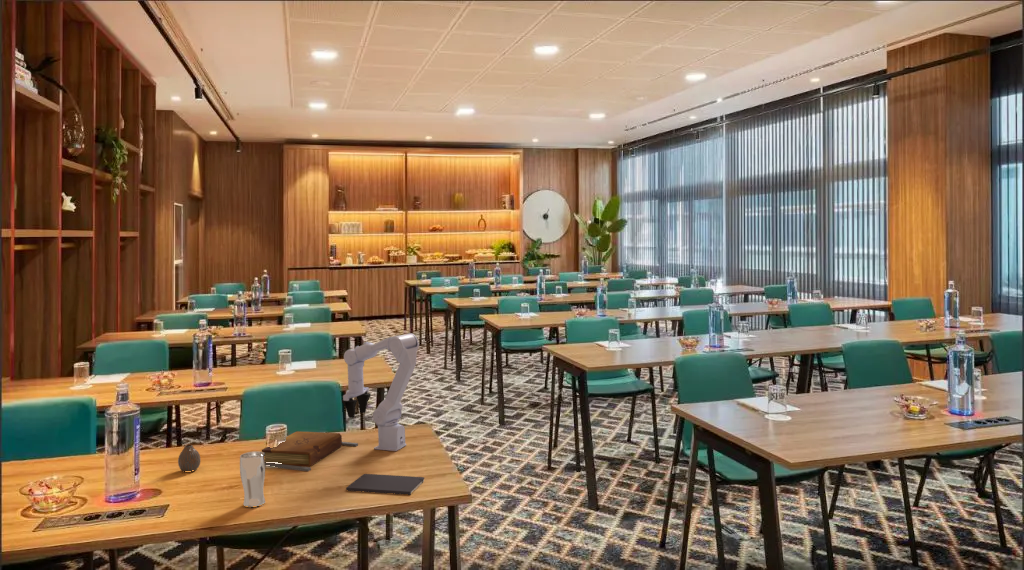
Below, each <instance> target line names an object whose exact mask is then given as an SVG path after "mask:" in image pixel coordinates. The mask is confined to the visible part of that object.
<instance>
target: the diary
mask: <svg viewBox="0 0 1024 570" xmlns="http://www.w3.org/2000/svg"><path fill="white" fill-rule="evenodd" d="M285 437H286V441H285V442H282V443H280V444H279V445H278V446H277V447H273V448H270V447H268V446H267V447H265V448H262V449H261V452H263V453H265V456H264V461H265V462H278V463H282V464H284V465H293V466H302V467H310V468H311V467H312V466H314V465H315V464H316V463H318V462H320V461H322V459H325V457H328V456H329V455H330V454H332V453H334V452H335V451H337V450H338V449H340V448H341V447H342V446H343V445H342V442H343V438H342V435H341V433H339V432H320V431H318V432H317V431H295V432H293V433H291V434H289V435H287V436H285Z"/></svg>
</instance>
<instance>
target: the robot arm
mask: <svg viewBox="0 0 1024 570" xmlns="http://www.w3.org/2000/svg"><path fill="white" fill-rule="evenodd" d="M354 347H355V348H352V349H350V348H349V349H347V350H345V352H344V354H343V360H344V362H345V363H346V364H347V381H348V382H347V383H348V384H347V386H348V390H346V393H345V394H343V395H342V398H343V399H341V402H342V404H343V406H344V408H345V411H346V412H347V416H348V418H349V419H350V418H351V419H354V418H355V415H356V414H355V413H356V404H357V403H358V411H359V413H360V414H361V413H362V414H365V413H366V411H367V407H368V406H367V405H368V403H369V399H370V398H371V396H372V395H371V393H370V387H367V386H366V387H365V385H364V383H365V382H364V366H365V361H367V360H371V359H372V358H375V357H376V356H377V355H378V352H381V351H384V350H386V349H387V350H388V351H390V353H391V354H392V356H393V357H394V358H395V360H396V361H397V362H398V363H399V364H398V367H397V369H396V373H395V375H394V377H393V379H392V381H391V384H390V387H389V389H388V391H387V394H386V396H385V398H384V399H383V400H382V401H381V402H380V403H379V404H378V406H377V408H375V409H374V411H373V412H372V419H373V422H374V423H375V424H376V426H377V435H378V437H377V439H378V445H376V446H374V447H373V449H374V450H381V451H390V452H391V451H392V452H397V451H399V450H401V449H402V448H404V447H406V446H407V443H406V429H405V426H404V424H400V423H399V420H400V419H401V417H402V413H403V412H402V409H403V407H404V405H403V404H402V402H401V401H402V398H403V396H404V393H405V391H406V390H407V389H406V388H407V386H408V385H409V381H410V379H411V377H412V375H413V373H414V370H415V369H416V368H415V367H416V366H417V365H416V364H417V359H418V358H417V357H418V356H417V355H418V354H417V352H418V349H419V347H420V343H419V339H418V338H417V336H416V335H415V334H414V333H411V332H410V333H406V334H399V335H394V336H390V337H386V338H384V339H382V340H379V341H377V342H376V343H373V342H369V341H365V342H363V344H362V345H360V346H359V345H356V346H354ZM354 398H356V399H354Z"/></svg>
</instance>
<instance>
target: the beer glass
mask: <svg viewBox="0 0 1024 570" xmlns="http://www.w3.org/2000/svg"><path fill="white" fill-rule="evenodd" d="M239 473H240V474H239V475H240V480H241V481H240V482H241V483H242V484H241V485H242V487H243V488H242V489H243V493H244V497H243V498H244V499H243V505H244V506H248V507H253V506H259V505H262V504H264V503H265V504H266V499H265V498H266V497H265V496H264V485H265V477H266V466H265V456H264V453H263V452H262V451H257V450H254V451H248V452H244V453H242V454H240V456H239ZM265 504H264V505H265ZM244 506H243V507H244ZM262 506H263V505H262Z"/></svg>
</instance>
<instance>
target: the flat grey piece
mask: <svg viewBox="0 0 1024 570" xmlns="http://www.w3.org/2000/svg"><path fill="white" fill-rule="evenodd" d="M342 446H349V447H357V446H359V443H358V442H350V441H349V442H348V441H342ZM264 457H265V453H264ZM265 465H270V466H275V467H278V468H277V469H284V470H295V471H302V472H303V471H304V472H310V471H311V470H312V467H311V466H310V467H303V466H293V465H284V464H275V463H266V462H265ZM275 467H274V468H275Z"/></svg>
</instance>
